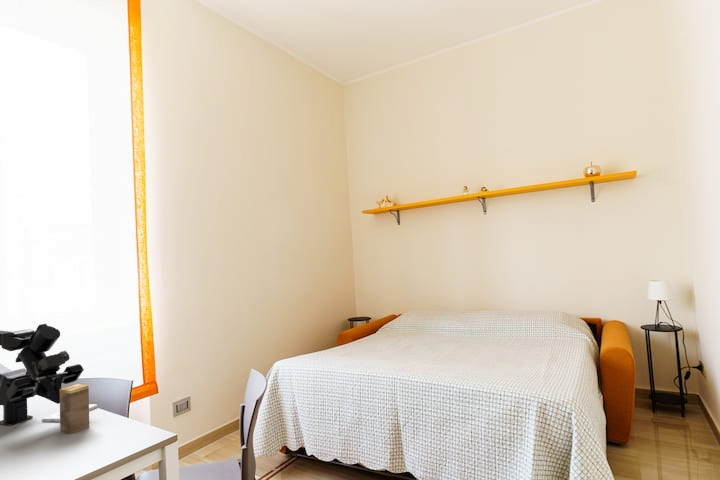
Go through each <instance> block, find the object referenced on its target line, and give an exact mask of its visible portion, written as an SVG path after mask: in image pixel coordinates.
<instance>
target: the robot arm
mask: <svg viewBox="0 0 720 480" xmlns="http://www.w3.org/2000/svg"><path fill="white" fill-rule="evenodd" d="M60 337H61V332H60V330H59V329H58V328H56V327H54V326H51V325H47V323H42V324H39V325H38V326H37V327H36V329H35V330H34V329H31V328H28V329H22V330H14V331H8V330H0V347H1V349H3V350H6V351H8V352H14V351H20V352H19V353H18V354H17V357H16V358H15V363H22V364H23V366H24V368H19V369H16V370H11V368H9V367H7V366H5V365H4V364H2V363H0V406H3V407H2V408H3V409H2V410H3V411H2V412H3V414H2V415H3V416H2V418H3V419H2V420H0V425H6V426H12V425H16V424H19V423H21V422H24V421H28V420H30V419H33V418H34V416H33V415H29V414H28V399H30V398H33V397H35V396H38V397H41V398H44V399H46V400H49V401H51V402H53V403H55V404H57V405H58V404H59V405H60V389H62V384H64V385H68V384H71V383H75V382H77V380H78V379H79V378H80V376H81V374H82V373H83V371H84V368H83V366H82V364H73V365H68V366H66V367H65V368H64V370H63V372H59V371H60V370H61V366H62V365H65V364H66V362H68V361H69V360H70V354H69V353H68V352H67V350H61V351H59V352H58V353H56V354H51V355H48V356H47V354H46V352H48V351H50V350H51V349H52V347H53V346H54V345H55V343H56V342H57V341H58V340H59V338H60ZM58 372H59V373H58Z"/></svg>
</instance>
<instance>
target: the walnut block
mask: <svg viewBox="0 0 720 480" xmlns="http://www.w3.org/2000/svg"><path fill="white" fill-rule="evenodd" d="M89 387H90V386H89V385H88V384H78V383H77V384H73V385H70V386H67V387H63V388H62V387H61V389H60V403H59V412H60V422H59V428H60V429H59V431H60V433H63V434H68V435H73V434H76V433H78V432H81V431H84V430H86V429H88V428H90V411H89V404H90V398H89V397H90V395H89V393H90V391H89Z"/></svg>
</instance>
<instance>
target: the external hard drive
mask: <svg viewBox="0 0 720 480" xmlns="http://www.w3.org/2000/svg"><path fill="white" fill-rule="evenodd" d="M95 409H98V404H96V403H94V404H90V403H89V412H91V411H92V410H95ZM41 422H42V423H48V422H49V423H52V422H55V423H60V411H58V412H56V413H54V414H51V415H49V416H45V417H44V418H42V419H41Z"/></svg>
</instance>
